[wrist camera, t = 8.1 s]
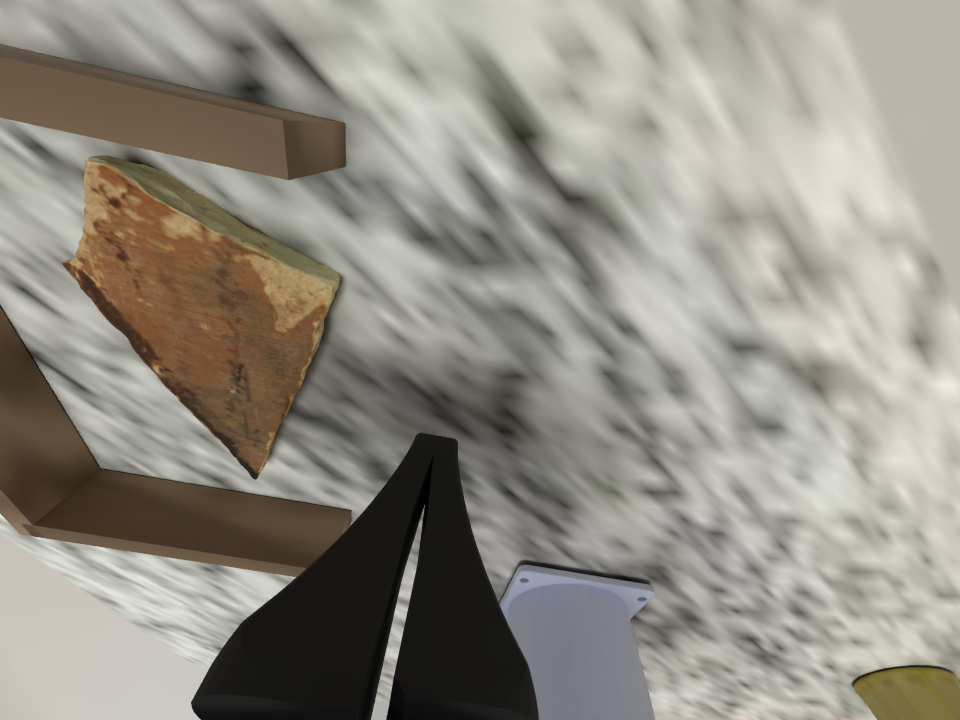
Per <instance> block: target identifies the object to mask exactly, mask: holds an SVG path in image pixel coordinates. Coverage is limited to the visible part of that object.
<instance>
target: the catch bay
mask: <svg viewBox="0 0 960 720" xmlns="http://www.w3.org/2000/svg"><path fill="white" fill-rule="evenodd" d="M0 117H1V118H6V119H10V120H15V121H19V122H24V123H29V124H33V125H38V126H42V127H47V128H52V129H56V130H61V131H65V132H70V133H75V134H79V135H84V136H88V137H93V138H98V139H102V140H107V141H111V142H116V143H121V144H125V145H130V146H134V147H139V148H144V149H148V150H153V151H157V152H162V153H167V154H171V155H176V156H180V157H185V158H190V159H194V160H199V161H203V162H208V163H213V164H217V165H222V166H226V167H231V168H236V169H240V170H245V171H249V172H254V173H259V174H263V175H268V176H272V177H277V178H281V179H286V180H291V179H295V178H299V177H304V176H308V175H312V174H316V173H321V172H325V171H329V170H333V169H338V168H342V167H345V123H343V122H338V121H334V120H330V119H325V118H321V117H316V116H312V115H308V114H303V113H299V112H295V111H290V110H286V109H281V108H277V107H273V106H268V105H264V104H259V103H255V102H251V101H246V100H242V99H238V98H233V97H229V96H224V95H220V94H216V93H211V92H207V91H203V90H198V89H194V88H189V87H185V86H181V85H176V84H172V83H168V82H163V81H159V80H154V79H150V78H146V77H141V76H137V75H133V74H128V73H124V72H119V71H115V70H111V69H106V68H102V67H98V66H93V65H89V64H84V63H80V62H76V61H71V60H67V59H63V58H58V57H54V56H49V55H45V54H41V53H36V52H32V51H28V50H23V49H19V48H14V47H10V46H6V45H1V44H0ZM0 514H1V515H2V516H3V517H4V518H5V519H6V520H7V521H8V522H9V523H10V524H11V525H12V526H13V527H14V528H15V529H16V530H17V531H18V532H19V534H21V535H28V536H34V537H41V538H47V539H54V540H60V541H66V542H73V543H79V544H86V545H92V546H99V547H105V548H112V549H118V550H125V551H131V552H138V553H144V554H151V555H157V556H163V557H170V558H176V559H183V560H189V561H196V562H202V563H209V564H215V565H222V566H228V567H235V568H241V569H248V570H254V571H260V572H267V573H273V574H280V575H286V576H293V577H298V576H299V575H300V574H301V573H302V572H303V571H304V570H306V569H307V568H308V567H309V566H310V565H311V564H312V563H313V562H315V561H316V560H317V559H318V558H319V557H320V556H321V555H322V554H323V553H324V552H325V551H326V550H327V549H328V548H329V547H330V546H331V545H332V544H333V543H334V542H335V541H336V540H337V539H338V538H339V537H340V536H341V535H342V534H343V533H344V532H345V531H346V530H347V529H348V528H349V526H350V523H351V511H349V510H343V509H337V508H331V507H325V506H319V505H313V504H307V503H301V502H295V501H289V500H283V499H277V498H271V497H265V496H259V495H253V494H247V493H241V492H235V491H229V490H223V489H217V488H211V487H205V486H199V485H193V484H187V483H181V482H175V481H169V480H163V479H157V478H151V477H145V476H139V475H133V474H127V473H121V472H115V471H109V470H103V469H100V468H99V467H98V465H97V463H96V462H95V460H94V458H93V457H92V455H91V454H90V452H89V450H88V449H87V447H86V445H85V444H84V442H83V441H82V439H81V437H80V436H79V434H78V432H77V431H76V429H75V428H74V426H73V424H72V423H71V421H70V419H69V418H68V416H67V415H66V413H65V411H64V410H63V408H62V406H61V405H60V403H59V402H58V400H57V398H56V397H55V395H54V394H53V392H52V390H51V389H50V387H49V385H48V384H47V382H46V381H45V379H44V377H43V376H42V374H41V372H40V371H39V369H38V368H37V366H36V364H35V363H34V361H33V359H32V358H31V356H30V355H29V353H28V351H27V350H26V348H25V346H24V345H23V343H22V342H21V340H20V338H19V337H18V335H17V333H16V332H15V330H14V329H13V327H12V325H11V324H10V322H9V321H8V319H7V317H6V316H5V314H4V312H3V311H2V309H1V308H0Z"/></svg>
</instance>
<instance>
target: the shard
mask: <svg viewBox="0 0 960 720" xmlns="http://www.w3.org/2000/svg"><path fill="white" fill-rule="evenodd" d="M84 188H85V204H86V206H85V208H84V213H85V225H84V227H83V236H82V238H81V240H80V241H79V248H78V250H77V252H76V257H75V258H73V259H69V260H66V261H65V262H63V263H62V264H63V266H64V267H65V268H66V269H67V271H68V272H69V273H70V274H71V276H72V277H73V278H74V279H75V280H76V281H77V282H78V284H79V286H80V288H81V289H82V290H83V291H84V293H85V294H86V295H87V296H89V297H90V298H91V300H92V301H93V302H94V304H95V305H96V307H97V308H98V309H99V311H100V312H101V313H102V314H103V315H104V317H105V318H106V319H107V320H108V321H109V322H110V323H111V324H112V325H113V326H114V327H115V328H117V329H118V330H119V331H121V332H122V333H123V334H124V335H125V336H126V337H127V338H128V340H129V341H130V344H131V346H132V348H133V349H134V350H135V352H136V353H137V354H138V355H139V356H140V357H141V359H142V360H143V361H144V363H145V364H146V365H147V366H148V367H150V368H151V369H152V370H153V371H154V373H155V374H156V375H157V376H158V378H159V379H160V380H161V382H162V383H163V384H164V385H165V387H166V388H168V389H169V390H170V391H171V392H172V393H173V394H174V395H175V396H176V397H177V398H178V399H179V401H180V402H181V403H182V404H183V405H184V406H185V407H186V408H187V409H189V411H190V412H191V413H192V414H193V415H194V416H195V417H196V418H197V419H198V420H199V421H200V422H201V423H202V424H203V425H204V426H205V427H206V428H207V429H208V430H209V431H210V432H211V433H212V434H213V435H214V436H215V437H217V438H218V439H220V441H221V442H222V443H223V444H224V445H225V446H226V447H227V448H228V449H229V450H230V452H231V454H232V455H233V456H234V457H236V458H237V460H238V461H239V463H240V464H241V465H242V466H243V467H244V468H245V469H246V470H247V471H248V472H249V474H250V475H251V477H252V478H253V479H255V480H256V479H258V476H259V474H260V473H261V471H262V470H263V468H264V466H265V464H266V461H267V459H268V457H269V455H270V453H271V448H272V445H273V442H274V440H275V437H276V433H277V428H278V426H279V424H280V423H281V422H282V421H283V419H284V418H285V417H286V415H287V413H288V411H289V409H290V407H291V405H292V403H293V398H294V396H295V395H296V393H297V392H298V390H299V389H300V387H301V385H302V382H303V380H304V377H305V373H306V370H307V368H308V366H309V365H310V363H311V362H312V359H313V356H314V355H315V353H316V351H317V349H318V347H319V345H320V341H321V337H322V334H323V330H324V319H325V317H326V315H327V313H328V310H329V308H330V304H331V303H332V301H333V299H334V297H335V292H336V291H337V289H338V288H339V282H340V274H339V273H337V272H335V271H333V270H332V269H330V268H328V267H326V266H324V265H322V264H319V263H317V262H315V261H313V260H312V259H310V258H308V257H306V256H304V255H303V254H301V253H299V252H297V251H295V250H293V249H291V248H289V247H288V246H286V245H284V244H282V243H280V242H278V241H276V240H274V239H272V238H271V237H269V236H266V235H264V234H262V233H260V232H258V231H256V230H255V229H252V228H249V227H247V226H246V225H245V224H243V223H242V222H241V221H239V220H238V219H236V218H234V217H233V216H232V215H230V214H229V213H227V212H226V211H225V210H223V209H222V208H220V207H219V206H217V205H216V204H214V203H213V202H211V201H210V200H208V199H207V198H206V197H204V196H202V195H200V194H197V193H196V192H194V191H193V190H191V189H189V188H187V187H185V186H184V185H182V184H181V183H180V182H178V181H177V180H175V179H174V178H173V177H171V176H170V175H169V174H168V173H166V172H163V171H161V170H158V169H154V168H151V167H149V166H147V165H145V164H136V163H132V162H128V161H125V160H121V159H118V158H114V157H111V156H95V157H90V158H89V159H88V160H87V161H86V162H85V175H84Z"/></svg>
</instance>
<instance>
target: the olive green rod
mask: <svg viewBox="0 0 960 720" xmlns="http://www.w3.org/2000/svg"><path fill="white" fill-rule="evenodd" d="M854 690H855V692H856V693H857V694H858V695H859V696H860V697H861V698H862V699H863V701H864V702H865V703H866V704H867V706H868V707H869V708H870V710H871V711H872V713H873V714H874V716H875V717H876V719H877V720H960V679H959V678H958V677H957V676H955V675H954V674H952V673H951V672H948V671H946V670H943V669H939V668H931V667H903V668H895V669H888V670H883V671H879V672H875V673H872V674H869V675H866V676H864V677H862V678H860V679H859V680H857V681H856V682H855V684H854Z"/></svg>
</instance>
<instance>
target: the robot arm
mask: <svg viewBox="0 0 960 720" xmlns="http://www.w3.org/2000/svg"><path fill="white" fill-rule="evenodd" d="M424 505H425V508H424ZM423 508H424V516H423V524H422V532H421V540H420V549H419V557H418V564H417V569H416V574H415V579H414V584H413V588H412V593H411V598H410V603H409V608H408V612H407V617H406V622H405V627H404V631H403V636H402V641H401V646H400V651H399V655H398V660H397V665H396V670H395V674H394V680H393V686H392V692H391V698H390V704H389V709H388V714H387V719H386V720H655V716H654V712H653V708H652V704H651V700H650V696H649V692H648V688H647V685H646V681H645V677H644V673H643V669H642V665H641V661H640V657H639V653H638V649H637V645H636V642H635V638H634V634H633V630H632V626H631V622H630V619H631V618H632V617H633V616H634V615H635V614H636V613H637V612H638V611H639V610H640V609H641V608H642V607H643V606H644V605H645V604H646V603H647V602H648V601H649V600H650V599H652V598H653V596H654V595H655V593H654V590H653V587H652V586H650V585H648V584H643V583H636V582H630V581H624V580H618V579H612V578H606V577H600V576H593V575H587V574H581V573H575V572H569V571H563V570H556V569H550V568H544V567H538V566H532V565H521V566H519V567H518V569H517V571H516V572H515V574H514V576H513V578H512V580H511V582H510V584H509V586H508V588H507V590H506V592H505V594H504V596H503V598H502V600H501V602H500V604H499V603H498V600H497V598H496V595H495V593H494V591H493V588H492V586H491V583H490V581H489V578H488V576H487V573H486V571H485V568H484V565H483V562H482V560H481V557H480V554H479V551H478V548H477V545H476V542H475V539H474V535H473V532H472V529H471V525H470V521H469V517H468V513H467V510H466V505H465V501H464V496H463V491H462V485H461V480H460V473H459V465H458V441H457V440H456V439H452V438H447V437H441V436H436V435H430V434H425V433H419V434H417V435H416V437H415V440H414V442H413V444H412V445H411V447H410V449H409V451H408V452H407V454H406V456H405V457H404V459H403V460H402V462H401V464H400V465H399V466H398V468H397V469H396V471H395V472H394V474H393V475H392V476H391V478H390V479H389V481H388V482H387V483H386V485H385V486H384V487H383V488H382V490H381V491H380V492H379V493H378V495H377V496H376V497H375V498H374V500H373V501H372V502H371V503H370V505H369V506H368V507H367V508H366V509H365V510H364V512H363V513H362V514H361V515H360V516H359V517H358V518H357V519H356V521H355V522H354V523H353V524H352V525H351V526H350V527H349V528H348V529H347V530H346V531H345V532H344V533H343V534H342V535H341V536H340V537H339V538H338V539H337V540H336V541H335V542H334V543H333V544H332V545H331V546H330V547H329V548H328V549H327V550H326V551H325V552H324V553H323V554H322V555H321V556H320V557H319V558H318V559H317V560H316V561H315V562H313V563H312V564H311V565H310V566H309V567H308V568H307V569H306V570H304V571H303V572H302V573H301V574H300V575H299V576H298V577H297V578H295V579H294V580H293V581H292V582H291V583H290V584H289V585H287V586H286V587H285V588H284V589H283V590H282V591H280V592H279V593H278V594H277V595H275V596H274V597H273V598H272V599H270V600H269V601H268V602H267V603H265V604H264V605H263V606H262V607H260V608H259V609H258V610H257V611H255V612H254V613H253V614H252V615H250V616H249V617H248V618H247V619H245V620H244V621H243V622H242V623H241V624H240V626H239V627H238V628H237V629H236V631H235V632H234V633H233V635H232V636H231V637H230V638H229V640H228V641H227V643H226V644H225V645H224V647H223V648H222V650H221V651H220V653H219V654H218V656H217V657H216V659H215V660H214V662H213V663H212V665H211V667H210V668H209V670H208V672H207V674H206V676H205V678H204V679H203V682H202V683H201V685H200V687H199V689H198V690H197V692H196V694H195V696H194V698H193V700H192V702H191V705H192V709H193V711H194V713H195V714H196V715H197V716H198V717H199V718H200V719H201V720H371V716H372V712H373V707H374V703H375V698H376V693H377V689H378V684H379V680H380V675H381V671H382V666H383V661H384V657H385V652H386V648H387V643H388V639H389V634H390V630H391V625H392V621H393V616H394V612H395V607H396V603H397V599H398V594H399V590H400V585H401V581H402V577H403V574H404V570H405V567H406V563H407V560H408V557H409V554H410V550H411V547H412V544H413V541H414V537H415V534H416V531H417V528H418V525H419V521H420V518H421V515H422V512H423Z"/></svg>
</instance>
